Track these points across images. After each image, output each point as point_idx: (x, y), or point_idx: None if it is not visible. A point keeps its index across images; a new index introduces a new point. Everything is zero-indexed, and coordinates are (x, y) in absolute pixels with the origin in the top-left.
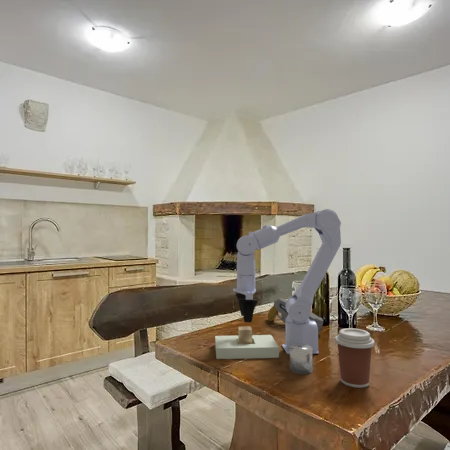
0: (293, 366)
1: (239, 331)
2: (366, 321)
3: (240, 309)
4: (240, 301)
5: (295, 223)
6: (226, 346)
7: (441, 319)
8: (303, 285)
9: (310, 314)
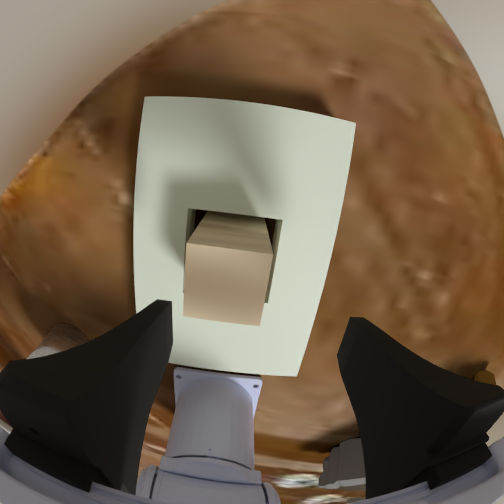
0: (49, 333)
1: (189, 240)
2: (359, 494)
3: (372, 340)
4: (3, 371)
5: None
6: (163, 147)
7: None
8: None
9: (361, 481)
